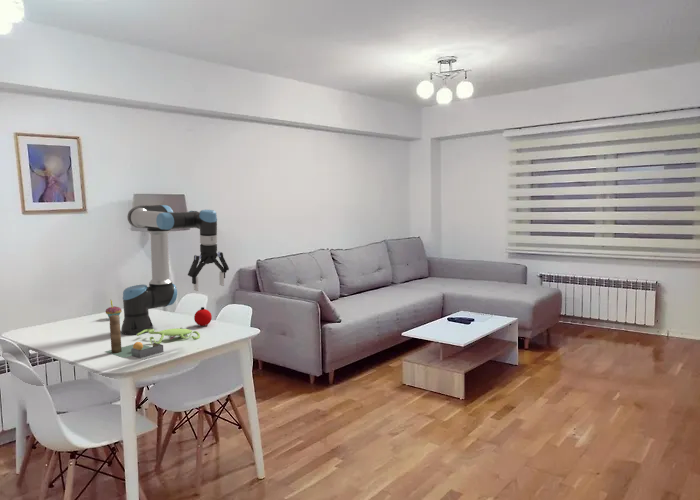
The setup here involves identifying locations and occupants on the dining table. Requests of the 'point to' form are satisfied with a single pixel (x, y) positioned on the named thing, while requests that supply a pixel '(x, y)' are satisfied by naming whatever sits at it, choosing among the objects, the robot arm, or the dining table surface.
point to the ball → (138, 346)
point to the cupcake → (113, 310)
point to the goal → (147, 351)
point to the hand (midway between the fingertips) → (209, 287)
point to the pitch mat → (126, 351)
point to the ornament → (202, 317)
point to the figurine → (171, 333)
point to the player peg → (115, 334)
